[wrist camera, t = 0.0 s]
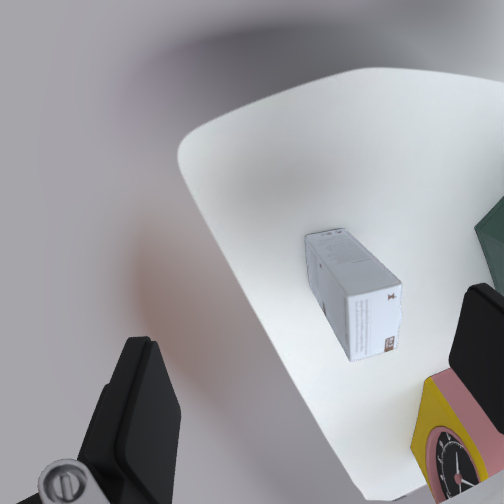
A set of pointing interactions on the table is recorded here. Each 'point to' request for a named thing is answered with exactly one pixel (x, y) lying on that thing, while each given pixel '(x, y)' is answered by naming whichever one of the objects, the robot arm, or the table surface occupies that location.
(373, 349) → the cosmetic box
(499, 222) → the bin
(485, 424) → the alarm clock
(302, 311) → the table surface
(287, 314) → the table surface
